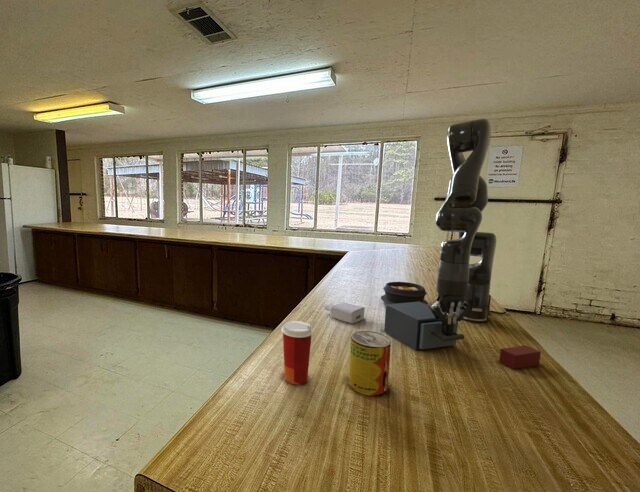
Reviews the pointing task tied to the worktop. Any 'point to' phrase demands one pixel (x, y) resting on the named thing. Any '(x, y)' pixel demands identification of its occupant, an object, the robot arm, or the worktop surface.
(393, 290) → the casserole
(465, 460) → the worktop surface
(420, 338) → the drawer
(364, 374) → the food can
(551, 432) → the worktop surface
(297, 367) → the paper cup
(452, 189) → the robot arm
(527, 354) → the red rectangular box
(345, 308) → the charger
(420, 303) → the cabinet
